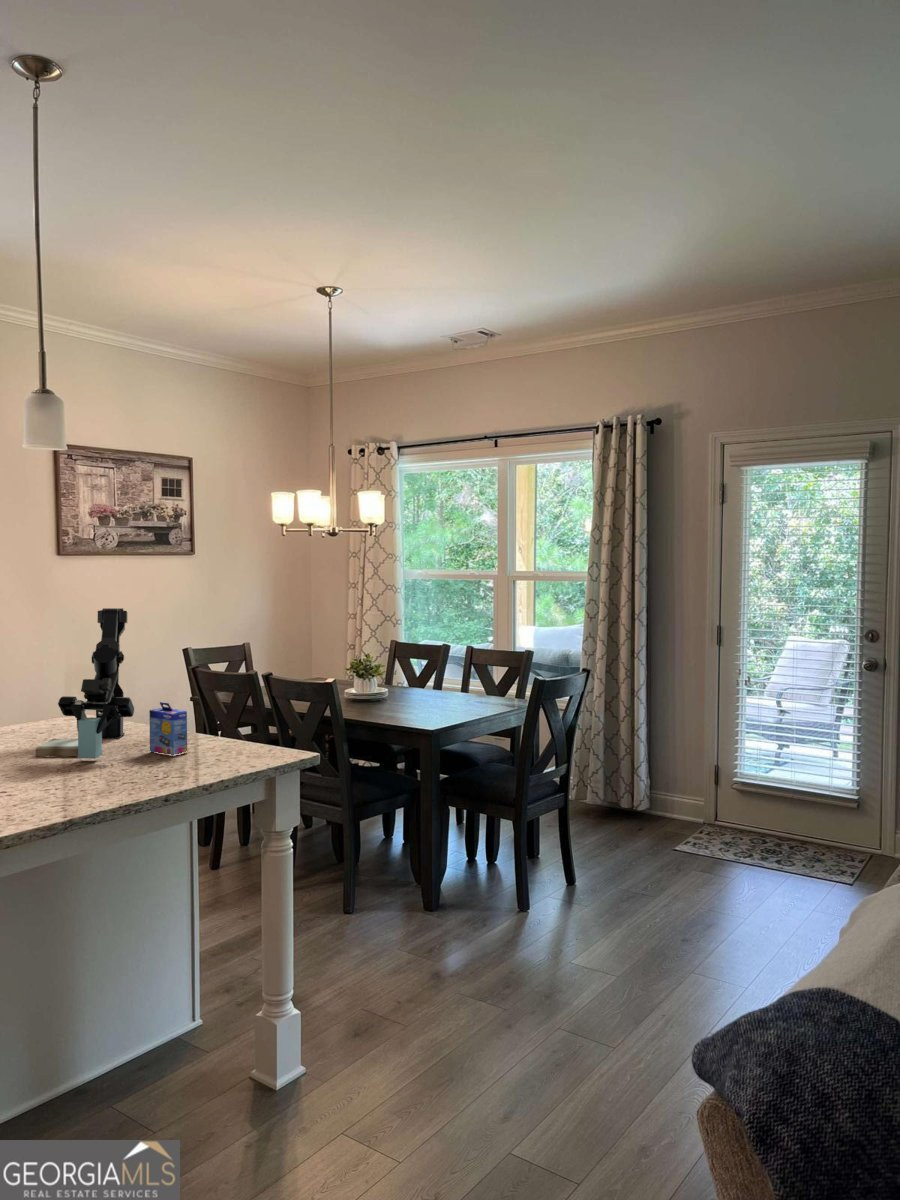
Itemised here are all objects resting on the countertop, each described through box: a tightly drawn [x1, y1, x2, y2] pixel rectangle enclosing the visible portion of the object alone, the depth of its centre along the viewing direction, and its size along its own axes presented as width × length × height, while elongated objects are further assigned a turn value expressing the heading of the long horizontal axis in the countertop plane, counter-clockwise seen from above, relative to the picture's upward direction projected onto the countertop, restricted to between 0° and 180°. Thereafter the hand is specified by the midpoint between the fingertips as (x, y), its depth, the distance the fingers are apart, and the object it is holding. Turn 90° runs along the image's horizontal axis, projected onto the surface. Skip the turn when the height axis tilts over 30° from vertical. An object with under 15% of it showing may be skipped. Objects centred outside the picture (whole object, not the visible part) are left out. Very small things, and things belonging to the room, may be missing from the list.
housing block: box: [77, 717, 103, 760], centre depth 230 cm, size 4×4×10 cm
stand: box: [35, 738, 78, 758], centre depth 241 cm, size 12×12×3 cm
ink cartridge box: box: [149, 702, 188, 755], centre depth 242 cm, size 10×6×14 cm, turn 59°
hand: (88, 732), depth 229 cm, fingers closed on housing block, 4 cm apart
